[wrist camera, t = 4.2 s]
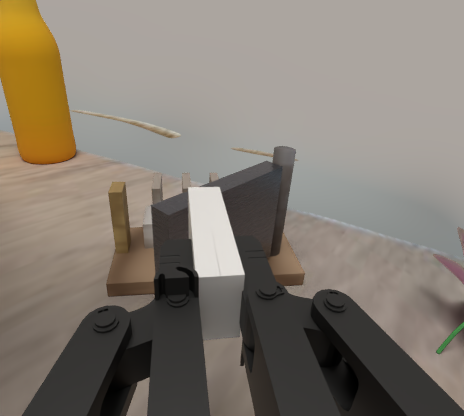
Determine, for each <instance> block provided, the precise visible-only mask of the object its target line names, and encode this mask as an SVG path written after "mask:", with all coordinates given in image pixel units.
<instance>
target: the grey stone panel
mask: <svg viewBox="0 0 464 416" xmlns="http://www.w3.org/2000/svg"><path fill="white" fill-rule="evenodd" d="M282 169H283V166H280V165H277V164H274V163H271V162H268V161H265V162H263V163H260V164H258V165H255V166H252V167H249V168H247V169H244V170H242V171H239V172H236V173H234V174H231V175H229V176H226V177H223V178H221V179H218V180H216V181H213V182H210V183H208V184H205V185H202V186H200V187H220V190H221V194H222V197H223V201H224V204H225V208H226V211H227V215H228V218H229V222H230V225H231V229H232V232H233V235H234V236H252V235H253V236H254V237H255V238H256V239H257V240H258V241H260V243H261V245H262V248H263V250H264V252H265V255H266V258H268V257H270V253H271V246H272V239H273V232H274V225H275V218H276V211H277V204H278V197H279V190H280V183H281V176H282ZM151 215H152V230H153V246H154V261H155V274H156V273H157V272H158V271H159V265H160V249H161V246H162V245H163V244H164V242H165V241H166V240H175V239H189V218H188V191H187V192H184V193H182V194H179V195H176V196H174V197H171V198H169V199H166V200H163V201H161V202H158V203H156V204H153V205H151Z"/></svg>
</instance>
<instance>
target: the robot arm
mask: <svg viewBox="0 0 464 416" xmlns="http://www.w3.org/2000/svg"><path fill="white" fill-rule="evenodd" d="M188 218H189V239H175V240H166V241H165V242H164V244H163V245H162V246H161V249H160V265H159V271H158V272H157V273H156V274H155V277H154V292H155V298H154V300H153V301H152V302H151V303H150V304H148V305H147V306H145V307H143V308H141V309H138V310H135V311H132V312H129V313H128V311H126V310H125V309H124V308H122V307H119V306H104V307H101V308H98V309H96V310H94V311H92V312H91V313H89V314H88V315H87V316H86V317H85V318H84V319H83V321H82V322H81V324H80V325H79V327H78V328H77V330H76V332H75V333H74V335H73V336H72V338H71V339H70V341H69V343H68V344H67V346H66V347H65V349H64V350H63V352H62V353H61V355H60V357H59V358H58V360H57V361H56V363H55V364H54V366H53V368H52V369H51V371H50V372H49V374H48V375H47V377H46V379H45V380H44V382H43V383H42V385H41V386H40V388H39V390H38V391H37V393H36V394H35V396H34V397H33V399H32V401H31V402H30V404H29V405H28V407H27V408H26V410H25V412H24V413H23V415H22V416H126V414H127V411H128V408H129V406H130V403H131V400H132V397H133V395H134V392H135V389H136V386H137V382H139V381H141V380H144V379H146V378H148V377H150V383H149V397H148V412H147V416H210V411H209V400H208V390H207V379H206V369H205V358H204V348H203V340H211V339H222V338H233V337H239V336H240V328H241V333H242V337H243V340H242V351H241V365H240V366H244V363H245V368H246V373H247V377H248V382H249V387H250V392H251V397H252V402H253V406H254V411H255V416H464V410H463V409H462V408H461V407H460V406H459V405H458V404H457V403H456V402H455V401H454V400H453V399H452V398H451V397H450V396H449V395H448V394H447V393H446V392H445V391H444V390H443V389H442V388H441V387H440V386H439V385H438V384H437V383H436V382H435V381H434V380H433V379H432V378H431V377H430V376H429V375H428V374H427V373H426V372H425V371H424V370H423V369H422V368H421V367H420V366H419V365H418V364H417V363H416V362H415V361H414V360H413V359H412V358H411V357H410V356H409V355H408V354H406V353H405V352H404V351H403V350H402V349H401V348H400V347H399V346H398V345H397V344H396V343H395V342H394V341H393V340H392V339H391V338H390V337H389V336H388V335H387V334H386V333H385V332H384V331H383V330H382V329H381V328H380V327H379V326H378V325H377V324H376V323H375V322H374V321H373V320H372V319H371V318H370V317H369V316H368V315H367V314H366V313H365V312H364V311H363V310H362V309H361V308H360V307H359V306H358V305H357V304H356V303H355V302H354V301H353V300H352V299H351V298H350V297H349V296H347V295H346V294H344V293H342V292H339V291H337V290H331V289H327V290H321V291H319V292H317V293H316V294H315V296H314V297H313V299H309V298H303V297H298V296H294V295H291V294H289V293H288V292H287V290H286V289H285V287H284V286H283V285H281V284H280V283H278V282H276V279H275V277H274V275H273V272H272V270H271V267H270V265H269V262H268V260H267V258H266V255H265V252H264V250H263V248H262V245H261V243H260V241H258V240H257V239H256V238H255V237H254V236H253V235H252V236H234V235H233V232H232V229H231V225H230V222H229V218H228V215H227V211H226V208H225V204H224V201H223V197H222V194H221V190H220V187H188Z"/></svg>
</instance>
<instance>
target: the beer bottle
mask: <svg viewBox="0 0 464 416" xmlns="http://www.w3.org/2000/svg"><path fill="white" fill-rule="evenodd" d="M0 78H1V82H2V86H3V90H4V94H5V98H6V102H7V106H8V109H9V113H10V117H11V121H12V125H13V129H14V133H15V137H16V142H17V146H18V150H19V153H20V155H21V157H22V159H23V160H25V161H26V162H29V163H34V164H52V163H58V162H62V161H66V160H68V159H71V158H72V157H73V156H74V155H75V153H76V144H75V139H74V135H73V130H72V124H71V118H70V112H69V106H68V102H67V95H66V89H65V84H64V77H63V71H62V65H61V59H60V53H59V50H58V46H57V44H56V41H55V39H54V37H53V35H52V33H51V32H50V30H49V28H48V27H47V25H46V23H45V22H44V20H43V18H42V17H41V15H40V12H39V9H38V6H37V3H36V0H0Z"/></svg>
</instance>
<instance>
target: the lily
mask: <svg viewBox="0 0 464 416" xmlns="http://www.w3.org/2000/svg"><path fill="white" fill-rule="evenodd" d="M457 230H458V234H459V238H460V241H461V245H462V248H463V255H464V230H463V229H461V228H459V227H458V228H457ZM433 256H434V257H435V258H436V259H437V260H439V261H440V262H441V263H442V264H443V265H444V266H445V267H446V268H447V269H449V270H450V271H451V272H452V273H453V274H454V275H455V276H456V277H457V278H458V279H459V280H460V281H461V282H462V283H463V284H464V268H463V267H462V266H461V265H460V264H458V263H456V262H454V261H453V260H450V259H448V258H446V257H443V256H440V255H436V254H433ZM463 328H464V322H463V323H462V324H461V325H459V326H458V327H457V328H456V329H455V330H454V331H453V332H452V333H451V334H450V336H449V337H448V338H447V339H446V340H445V341H444V342H443V344H442V345H441V346H440V347H439V348H438V350H437V351H436V352H437V353H438V354H440V353H441V352H442V351H443V349H444V348H445V347H446V346H447V345H448V343H449V342H450V341H451V340H452V339H453V338H454V337H455V336H456V334H457V333H458V332H460V331H461V330H462V329H463Z"/></svg>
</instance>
